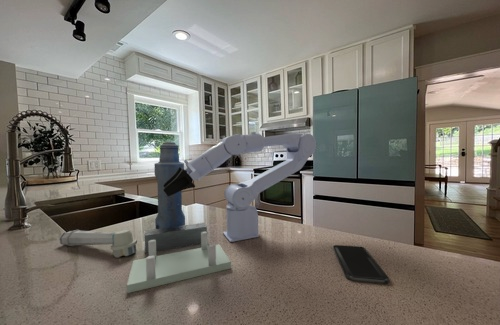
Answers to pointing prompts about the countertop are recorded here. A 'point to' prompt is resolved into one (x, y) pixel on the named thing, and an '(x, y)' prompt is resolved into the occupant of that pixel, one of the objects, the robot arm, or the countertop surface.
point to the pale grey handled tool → (102, 240)
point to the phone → (359, 265)
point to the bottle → (164, 170)
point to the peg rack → (176, 265)
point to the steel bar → (175, 236)
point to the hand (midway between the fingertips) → (165, 190)
